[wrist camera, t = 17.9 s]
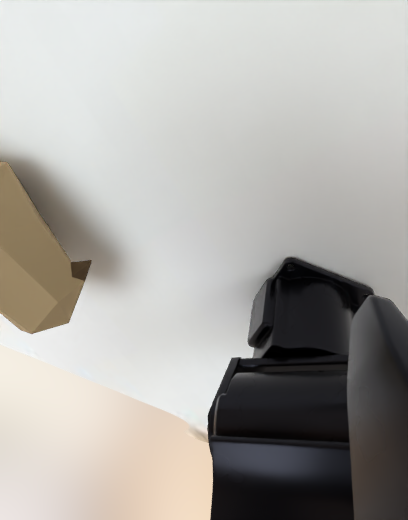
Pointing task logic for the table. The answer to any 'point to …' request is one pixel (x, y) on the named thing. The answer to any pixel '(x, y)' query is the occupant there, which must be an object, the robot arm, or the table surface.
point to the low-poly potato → (33, 264)
